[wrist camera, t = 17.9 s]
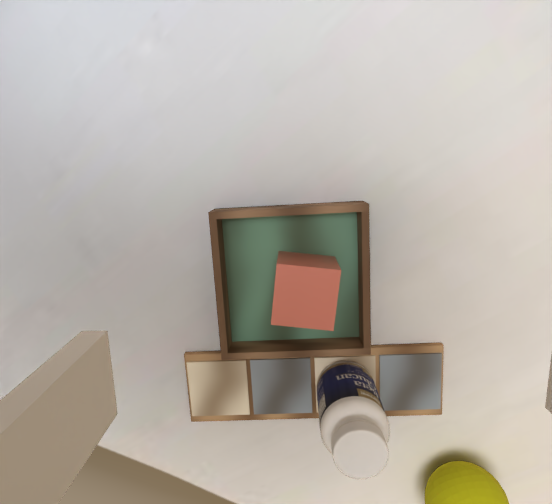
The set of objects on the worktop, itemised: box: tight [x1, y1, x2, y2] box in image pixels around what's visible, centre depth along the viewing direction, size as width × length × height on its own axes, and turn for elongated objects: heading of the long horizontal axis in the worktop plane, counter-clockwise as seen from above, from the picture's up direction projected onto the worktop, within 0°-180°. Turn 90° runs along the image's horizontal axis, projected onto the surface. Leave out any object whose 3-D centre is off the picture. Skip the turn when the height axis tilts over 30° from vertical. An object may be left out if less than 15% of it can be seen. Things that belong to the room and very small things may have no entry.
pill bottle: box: [316, 361, 390, 479], centre depth 35 cm, size 5×5×10 cm
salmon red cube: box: [271, 251, 341, 331], centre depth 35 cm, size 5×5×5 cm
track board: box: [184, 343, 443, 422], centre depth 40 cm, size 24×7×1 cm, turn 93°
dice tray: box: [208, 201, 371, 360], centre depth 37 cm, size 13×13×3 cm
